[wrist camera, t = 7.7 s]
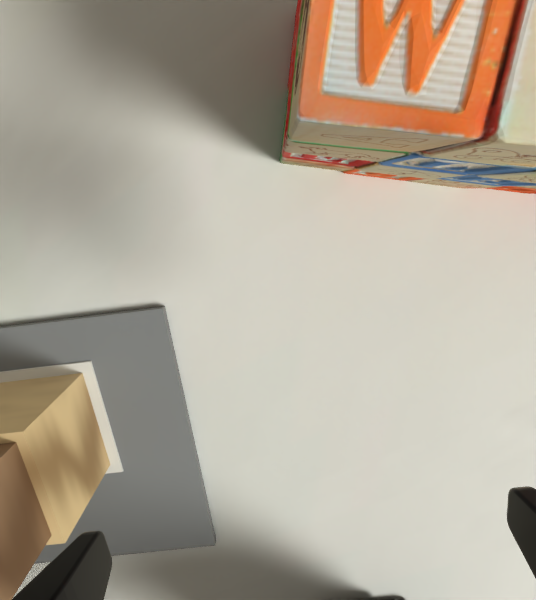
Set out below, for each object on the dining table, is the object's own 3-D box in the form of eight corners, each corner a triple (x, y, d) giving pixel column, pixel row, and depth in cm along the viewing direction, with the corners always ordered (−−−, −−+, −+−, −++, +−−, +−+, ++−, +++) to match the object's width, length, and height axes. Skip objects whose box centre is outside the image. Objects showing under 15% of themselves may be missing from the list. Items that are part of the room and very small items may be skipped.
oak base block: (110, 464, 22) (65, 543, 17) (11, 475, 22) (-62, 556, 17) (82, 372, 20) (23, 431, 15) (-25, 385, 20) (-117, 447, 15)
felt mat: (215, 539, 24) (214, 546, 23) (36, 557, 24) (31, 565, 24) (164, 306, 19) (162, 309, 19) (-56, 333, 20) (-64, 337, 19)
